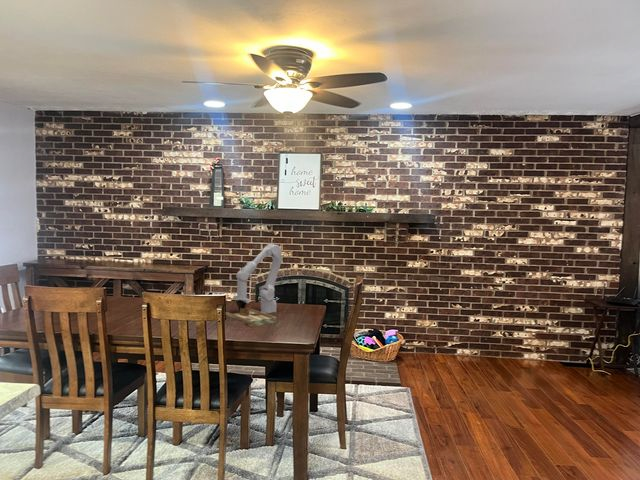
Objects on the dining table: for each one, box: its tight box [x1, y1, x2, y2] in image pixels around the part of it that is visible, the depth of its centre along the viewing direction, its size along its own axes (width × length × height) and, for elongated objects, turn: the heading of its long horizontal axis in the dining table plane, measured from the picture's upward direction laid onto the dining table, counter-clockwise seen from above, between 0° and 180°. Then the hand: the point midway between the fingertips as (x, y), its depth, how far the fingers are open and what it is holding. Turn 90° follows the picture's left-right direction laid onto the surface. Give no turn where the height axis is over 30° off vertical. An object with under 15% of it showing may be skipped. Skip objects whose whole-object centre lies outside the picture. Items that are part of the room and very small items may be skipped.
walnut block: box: [240, 306, 250, 316], centre depth 266 cm, size 4×4×4 cm
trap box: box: [225, 308, 278, 328], centre depth 261 cm, size 18×27×3 cm, turn 42°
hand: (241, 312), depth 269 cm, fingers closed
